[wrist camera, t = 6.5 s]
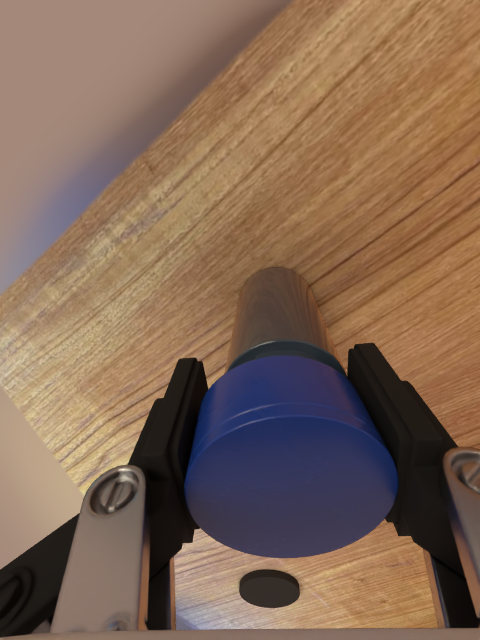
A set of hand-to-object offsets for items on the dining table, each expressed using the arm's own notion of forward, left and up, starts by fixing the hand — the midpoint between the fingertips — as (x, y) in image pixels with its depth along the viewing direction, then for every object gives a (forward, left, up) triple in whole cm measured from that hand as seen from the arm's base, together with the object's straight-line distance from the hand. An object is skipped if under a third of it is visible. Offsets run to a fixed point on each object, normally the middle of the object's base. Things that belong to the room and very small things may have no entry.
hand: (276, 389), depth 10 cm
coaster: (+8, -30, -8) cm, 32 cm away
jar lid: (0, 0, +3) cm, 3 cm away
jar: (0, 0, -8) cm, 8 cm away
